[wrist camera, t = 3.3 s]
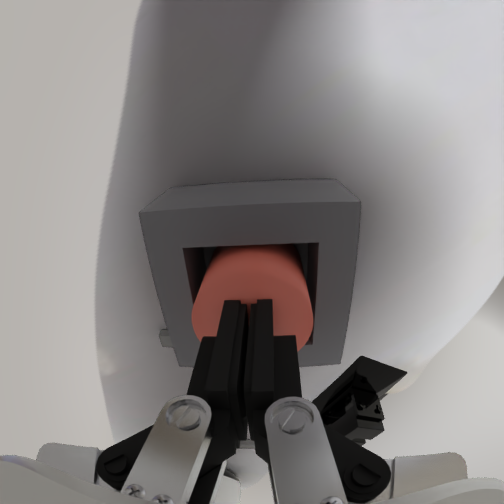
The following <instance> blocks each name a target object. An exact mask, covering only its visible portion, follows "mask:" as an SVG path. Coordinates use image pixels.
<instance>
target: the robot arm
mask: <svg viewBox="0 0 504 504" xmlns="http://www.w3.org/2000/svg"><path fill="white" fill-rule="evenodd" d="M248 425H249V431H250V438H251V441H254V443H255V450H256V454H257V455H258V456H259V457H260V458H262V459H263V460H264V461H265V462H267V463H268V470H269V475H270V482H271V488H272V494H273V500H274V504H504V482H503V481H501V480H498V479H494V478H471V479H468V478H467V466H466V462H465V460H464V459H463V457H462V456H461V455H459V454H457V453H450V452H448V453H441V454H431V455H421V456H420V455H419V456H406V457H405V456H403V457H395V458H394V459H382V458H381V457H380V456H378V455H376V454H374V453H372V452H371V451H369V450H367V449H365V448H364V447H362V446H360V445H358V444H357V443H355V442H353V441H351V440H350V439H348V438H346V437H345V436H343V435H341V434H340V433H338V432H336V431H335V430H333V429H332V428H330V427H328V426H327V425H325V424H324V423H323V422H322V419H321V416H320V413H319V411H318V409H317V407H316V406H315V405H314V404H313V403H312V402H311V401H309V400H306V399H304V398H302V393H301V382H300V372H299V362H298V352H297V343H296V336H295V335H283V336H274V334H273V300H272V299H257V304H251V308H250V320H249V324H248V313H247V304H241V301H240V300H225V301H224V304H223V309H222V313H221V317H220V322H219V326H218V331H217V335H216V336H203V338H202V340H201V343H200V347H199V351H198V354H197V358H196V362H195V365H194V369H193V373H192V376H191V380H190V384H189V388H188V391H187V395H183V396H178V397H176V398H173V399H171V400H170V401H169V402H167V403H166V404H165V406H164V407H163V408H162V410H161V412H160V414H159V416H158V418H157V420H156V422H155V424H154V425H152V426H150V427H148V428H146V429H145V430H143V431H141V432H139V433H137V434H135V435H133V436H131V437H129V438H127V439H125V440H123V441H121V442H119V443H117V444H115V445H113V446H111V447H109V448H107V449H106V450H99V449H98V448H94V447H83V446H74V445H66V444H58V443H47V444H45V445H43V446H42V447H41V448H40V450H39V452H38V455H37V459H36V460H33V459H30V458H26V457H22V456H16V455H3V456H0V504H214V502H215V499H216V496H217V493H218V490H219V487H220V484H221V480H222V477H223V474H224V471H225V467H226V464H227V459H228V458H229V457H231V456H232V455H234V454H235V453H236V448H240V441H246V439H247V426H248Z"/></svg>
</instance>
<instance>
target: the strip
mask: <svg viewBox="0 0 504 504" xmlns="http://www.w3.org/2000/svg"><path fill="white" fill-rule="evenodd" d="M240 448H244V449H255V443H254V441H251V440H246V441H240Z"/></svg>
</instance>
